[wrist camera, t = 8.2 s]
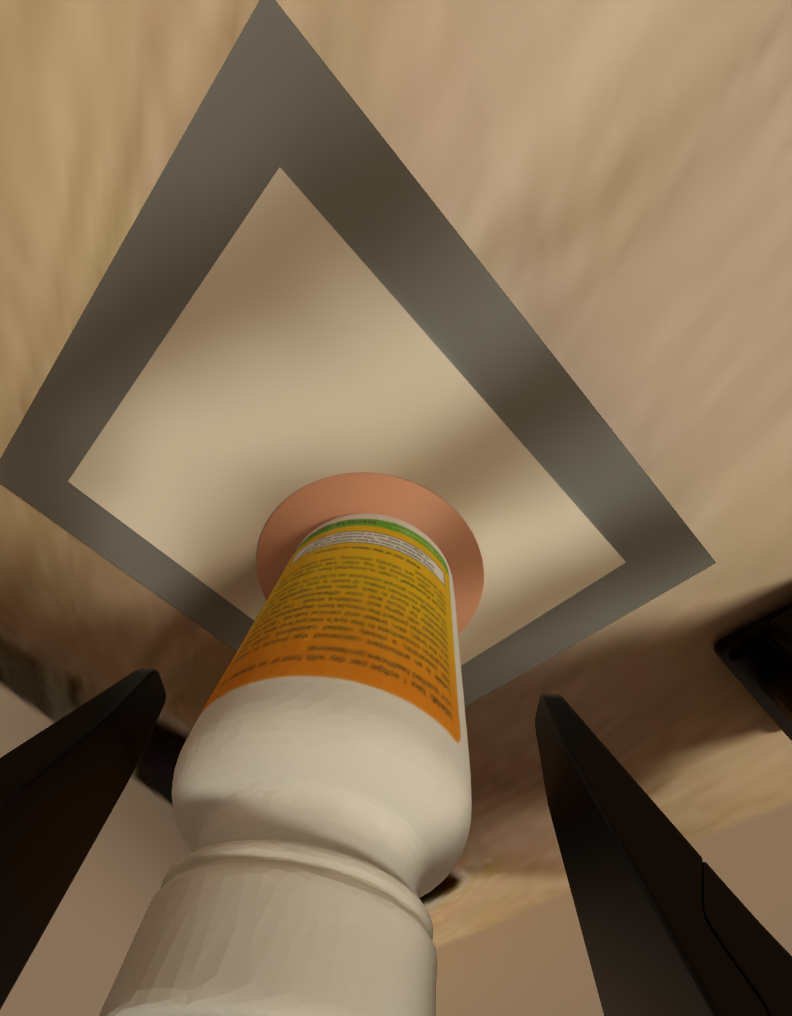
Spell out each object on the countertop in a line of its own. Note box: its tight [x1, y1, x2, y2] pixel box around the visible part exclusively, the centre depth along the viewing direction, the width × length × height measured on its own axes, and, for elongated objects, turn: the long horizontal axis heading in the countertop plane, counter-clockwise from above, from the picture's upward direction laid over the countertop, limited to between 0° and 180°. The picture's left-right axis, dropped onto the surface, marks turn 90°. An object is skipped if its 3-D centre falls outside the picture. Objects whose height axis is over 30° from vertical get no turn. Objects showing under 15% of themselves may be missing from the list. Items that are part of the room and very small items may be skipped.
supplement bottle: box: [100, 513, 472, 1016], centre depth 9 cm, size 5×5×10 cm
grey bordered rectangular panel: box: [0, 0, 716, 707], centre depth 13 cm, size 18×15×1 cm
